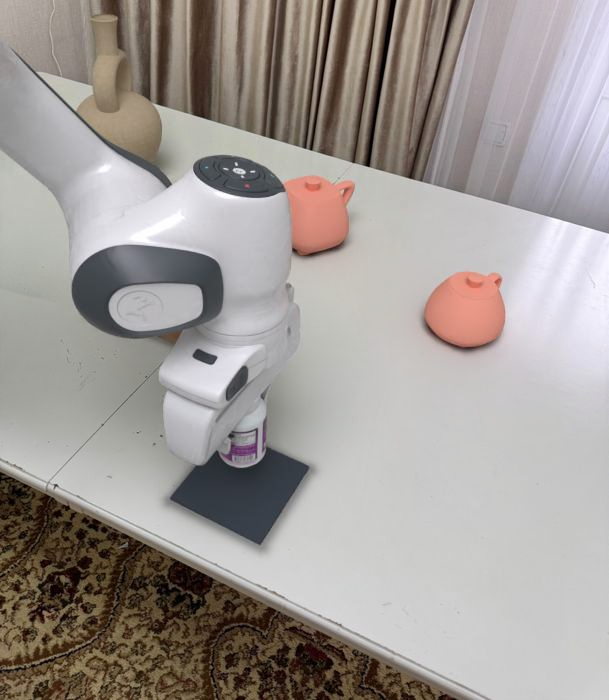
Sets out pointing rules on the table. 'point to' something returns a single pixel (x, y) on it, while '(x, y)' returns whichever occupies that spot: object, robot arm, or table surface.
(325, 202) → the teapot
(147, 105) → the vase
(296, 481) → the coaster
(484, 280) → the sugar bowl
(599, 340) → the table surface
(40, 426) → the table surface
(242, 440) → the pill bottle
